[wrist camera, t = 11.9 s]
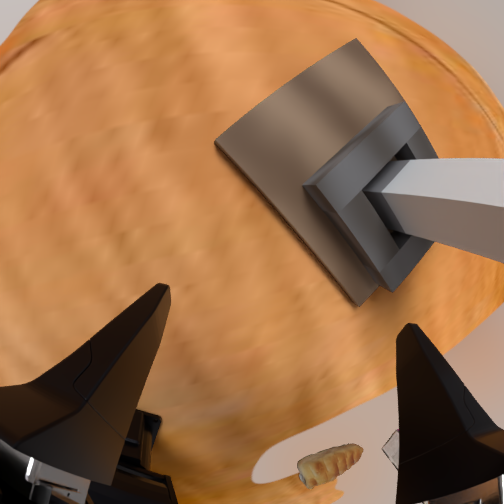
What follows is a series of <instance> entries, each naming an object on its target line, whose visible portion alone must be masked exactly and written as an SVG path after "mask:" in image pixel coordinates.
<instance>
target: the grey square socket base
mask: <svg viewBox="0 0 504 504" xmlns="http://www.w3.org/2000/svg"><path fill="white" fill-rule="evenodd" d="M214 143H215V144H216V145H217V146H218V147H219V148H220V149H221V150H222V151H223V152H224V153H225V154H226V155H227V156H228V157H229V159H230V160H231V161H232V162H233V163H234V164H235V165H236V166H237V167H238V168H239V169H240V170H241V171H242V173H243V174H244V175H245V176H246V177H247V178H248V179H249V180H250V181H251V182H252V184H253V185H254V186H255V187H256V188H257V189H258V190H259V191H260V192H261V193H262V195H263V196H264V197H265V198H266V199H267V200H268V201H269V202H270V204H271V205H272V206H273V207H274V208H275V209H276V210H277V212H278V213H279V214H280V215H281V216H282V217H283V218H284V220H285V221H286V222H287V223H288V224H289V225H290V226H291V228H292V229H293V230H294V231H295V232H296V233H297V235H298V236H299V237H300V238H301V239H302V240H303V242H304V243H305V244H306V245H307V246H308V247H309V249H310V250H311V251H312V252H313V253H314V255H315V256H316V257H317V258H318V259H319V261H320V262H321V263H322V264H323V265H324V267H325V268H326V269H327V270H328V271H329V273H330V274H331V275H332V276H333V278H334V279H335V280H336V281H337V282H338V284H339V285H340V286H341V287H342V289H343V290H344V291H345V292H346V294H347V295H348V296H349V297H350V299H351V300H352V301H353V302H354V303H355V304H356V305H357V306H359V307H360V306H361V305H362V304H363V303H364V302H365V301H366V300H367V298H368V297H369V296H370V295H371V294H372V293H373V292H374V291H375V290H376V289H377V288H378V287H379V286H382V287H383V288H385V289H387V290H389V291H390V292H392V293H393V292H394V291H395V289H396V288H397V287H398V286H399V285H400V284H401V283H402V281H403V280H404V279H405V278H406V277H407V275H408V274H409V273H410V272H411V271H412V269H413V268H414V267H415V266H416V265H417V263H418V262H419V261H420V260H421V258H422V257H423V256H424V255H425V253H426V252H427V251H428V250H429V248H430V247H431V246H432V244H433V243H434V242H435V241H431V240H428V239H424V238H421V237H417V236H413V235H410V234H406V233H402V232H399V231H395V230H391V229H387V228H386V227H385V225H384V223H383V222H382V220H381V219H380V217H379V216H378V214H377V212H376V211H375V209H374V208H373V206H372V205H371V203H370V202H369V200H368V199H367V197H366V196H365V194H364V193H363V191H362V189H363V188H364V187H365V186H366V185H367V184H368V183H369V182H370V181H371V179H372V178H373V177H374V176H375V175H376V174H377V173H378V172H379V171H380V170H381V169H382V168H383V167H384V166H385V165H386V164H387V163H388V162H389V161H400V160H418V159H439V158H438V156H437V154H436V152H435V150H434V148H433V147H432V145H431V143H430V141H429V139H428V138H427V136H426V134H425V132H424V131H423V129H422V127H421V125H420V124H419V122H418V121H417V119H416V117H415V116H414V114H413V112H412V111H411V109H410V108H409V106H408V105H407V103H406V102H405V100H404V99H403V97H402V96H401V94H400V93H399V91H398V90H397V89H396V87H395V86H394V84H393V83H392V82H391V80H390V79H389V78H388V76H387V75H386V74H385V72H384V71H383V70H382V68H381V67H380V66H379V65H378V63H377V62H376V61H375V60H374V58H373V57H372V56H371V55H370V53H369V52H368V51H367V50H366V49H365V48H364V46H363V45H362V44H361V43H360V42H359V41H358V40H357V38H355V39H354V40H352V41H350V42H348V43H347V44H345V45H343V46H342V47H340V48H338V49H337V50H335V51H334V52H332V53H330V54H329V55H327V56H326V57H324V58H323V59H321V60H320V61H318V62H316V63H315V64H313V65H312V66H310V67H309V68H307V69H306V70H305V71H303V72H302V73H300V74H299V75H297V76H296V77H294V78H293V79H292V80H290V81H289V82H287V83H286V84H285V85H283V86H282V87H280V88H279V89H278V90H276V91H275V92H274V93H272V94H271V95H270V96H268V97H267V98H266V99H264V100H263V101H262V102H260V103H259V104H258V105H257V106H255V107H254V108H253V109H252V110H250V111H249V112H248V113H247V114H245V115H244V116H243V117H242V118H240V119H239V120H238V121H237V122H235V123H234V124H233V125H232V126H231V127H229V128H228V129H227V130H226V131H225V132H224V133H222V134H221V135H220V136H219V137H218V138H217V139H215V141H214Z"/></svg>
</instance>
